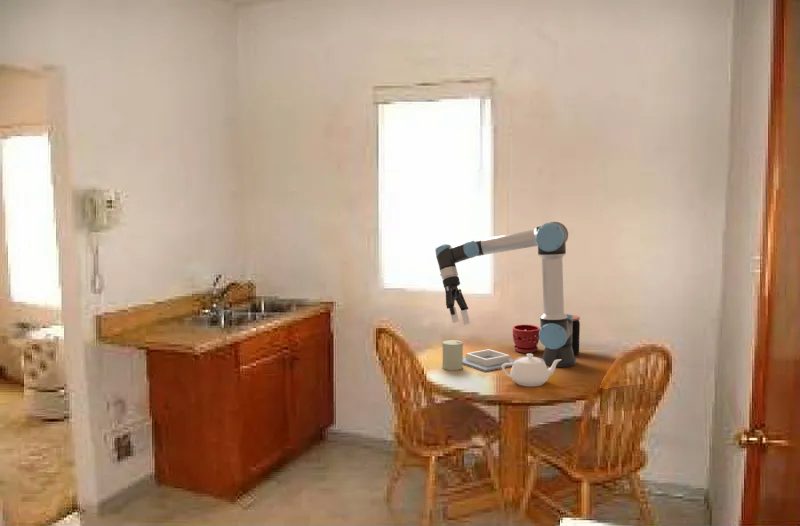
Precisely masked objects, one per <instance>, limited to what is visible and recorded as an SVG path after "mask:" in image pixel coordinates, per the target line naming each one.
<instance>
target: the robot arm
mask: <svg viewBox="0 0 800 526" xmlns="http://www.w3.org/2000/svg"><path fill="white" fill-rule="evenodd" d="M568 238H569V232H568V228H567V227H566V226H565V224H564V223H561V222H559V221H550V222H546V223H544V224H542V225H540V226H536V227H535V228H534V229H531V230H529V229H528V230H524V231H518V232H513V233H508V234H503V235H497V236H492V237H491V236H490V237H486V238H482V239H481V238H480V239H471V240H467V241H464V242H462V243H459V244H457V245H454V246H451V245H450V244H449V243H446V244H440V245H438V246H437V247H436V248H435V249H434V250H435V256H436V257H435V258H436V260H437V264H438V267H439V271H440V273H439V276H440V277H441V279H442V284H443V288H444V291H445V305H446V309H449V313H450V314H449V315H450V317H451V321H452V323H453V324H455V323H458V322H460V321H459V317H458V316H459V315H458V313H457V308H456V306H455V302H456V303H457V305H458V307H459V309H460V314H461V317H462V319H461V320H462V322H463V325H464V326H466V325H469V324H471V321H470V318H469V314H468V311H467V310H469V307H468V305H467V303H466V300H465V298H464V295H463V293H462V289H461V288H459V286H460V285H461V281H460V277H459V273H458V270H457V266H456V264H457V263H459V262H460V263H461V262H463V261H466V260H469V259H473V258H475V257H480V256H485V255H490V254H492V255H493V254H496V253H503V252H509V251H515V250H521V249H529V248H533V247H535V248H536V247H537V256H539V258H541V270H542V271H541V272H542V301H543V302H542V303H543V304H542V306H543V307H542V309H543V313H542V315H540V317H539V319H540V321H539V325H540V326H539V328H540V331H539V341H540V343H541V344H542V345H543V347H544V350H543V354H542V356H541V359H543V360H544V362H545V364H546V366H548V367H551V366H552V364H553V362H554V361H555V360H557V359H562V360H561V361H559V362H558V363H557V365H556V368H569V367H571V368H572V367H574V366H576V364H577V363H576V362H577V361H576V357H575V355H574V353H573V349H572V326H573V317H572V315H573V314H569V313H565V306H564V299H565V298H564V274H563V273H564V272H563V267H564V265H563V257H564V256H566V254H567V251H566V250H567V249H566V247H567V245H566V243H567V242H568Z"/></svg>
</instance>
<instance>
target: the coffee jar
mask: <svg viewBox="0 0 800 526" xmlns="http://www.w3.org/2000/svg"><path fill="white" fill-rule="evenodd" d="M571 315H572V317H573V326H572V349H573V353H574V356H577V355H578V354H579V353H580V331H581V330H580V329H581V328H580V326H581V322H580V320H581V319H580V316H578V315H574V314H571Z"/></svg>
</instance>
